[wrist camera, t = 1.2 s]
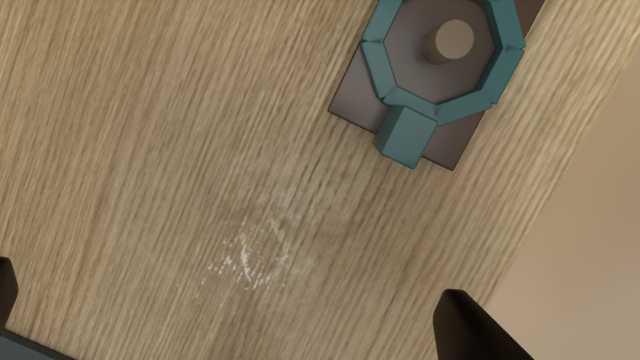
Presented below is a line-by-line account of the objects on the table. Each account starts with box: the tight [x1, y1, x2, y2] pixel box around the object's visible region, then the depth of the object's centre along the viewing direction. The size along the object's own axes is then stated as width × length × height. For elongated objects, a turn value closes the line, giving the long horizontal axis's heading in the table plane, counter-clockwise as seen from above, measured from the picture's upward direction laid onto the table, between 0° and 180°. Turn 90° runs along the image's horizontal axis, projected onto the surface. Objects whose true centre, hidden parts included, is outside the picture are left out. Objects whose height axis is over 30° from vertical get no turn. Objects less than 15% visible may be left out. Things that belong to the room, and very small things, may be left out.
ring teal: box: [360, 0, 526, 169], centre depth 20 cm, size 9×7×4 cm
